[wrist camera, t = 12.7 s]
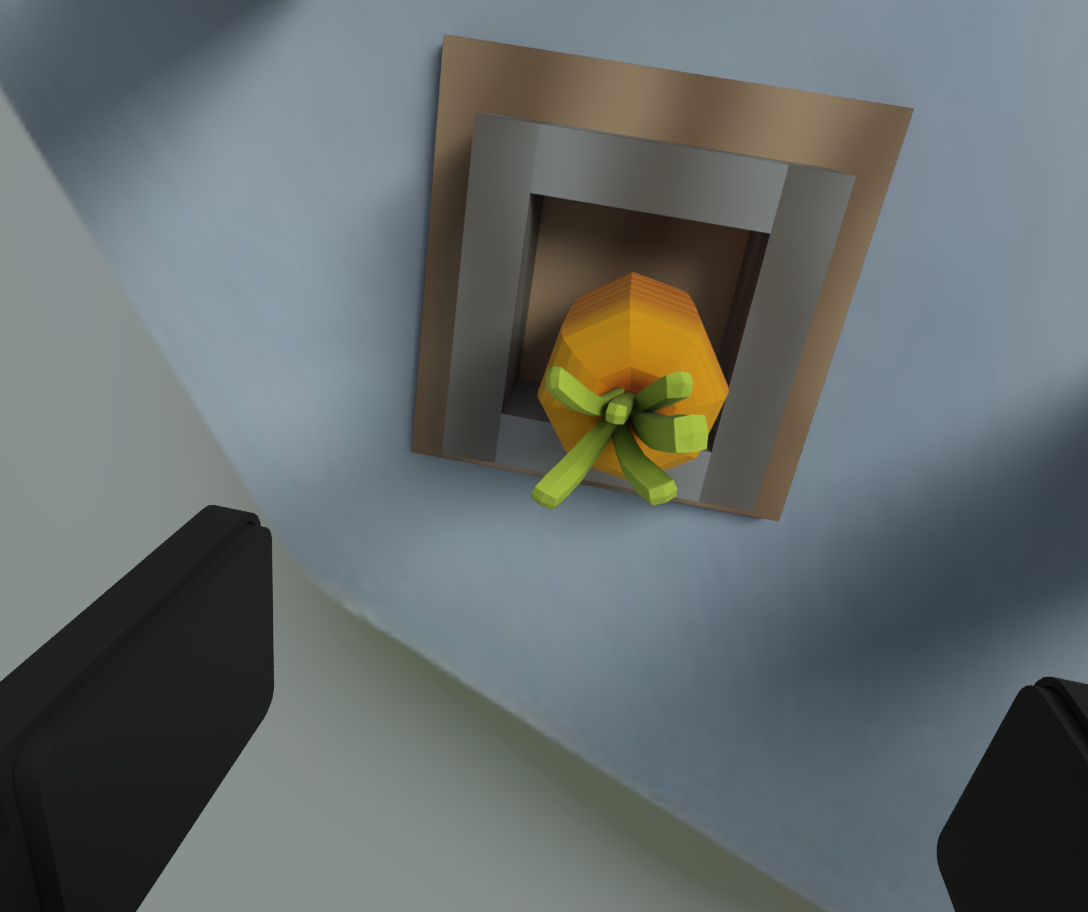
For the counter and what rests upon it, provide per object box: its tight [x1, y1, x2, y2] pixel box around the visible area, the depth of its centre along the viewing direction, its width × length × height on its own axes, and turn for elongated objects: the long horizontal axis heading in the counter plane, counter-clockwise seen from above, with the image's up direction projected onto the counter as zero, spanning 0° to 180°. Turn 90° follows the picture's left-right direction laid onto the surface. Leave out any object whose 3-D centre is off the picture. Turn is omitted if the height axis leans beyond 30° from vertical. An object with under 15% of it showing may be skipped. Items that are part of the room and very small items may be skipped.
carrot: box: [531, 272, 729, 510], centre depth 22 cm, size 5×5×15 cm
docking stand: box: [412, 34, 914, 521], centre depth 27 cm, size 16×16×5 cm
